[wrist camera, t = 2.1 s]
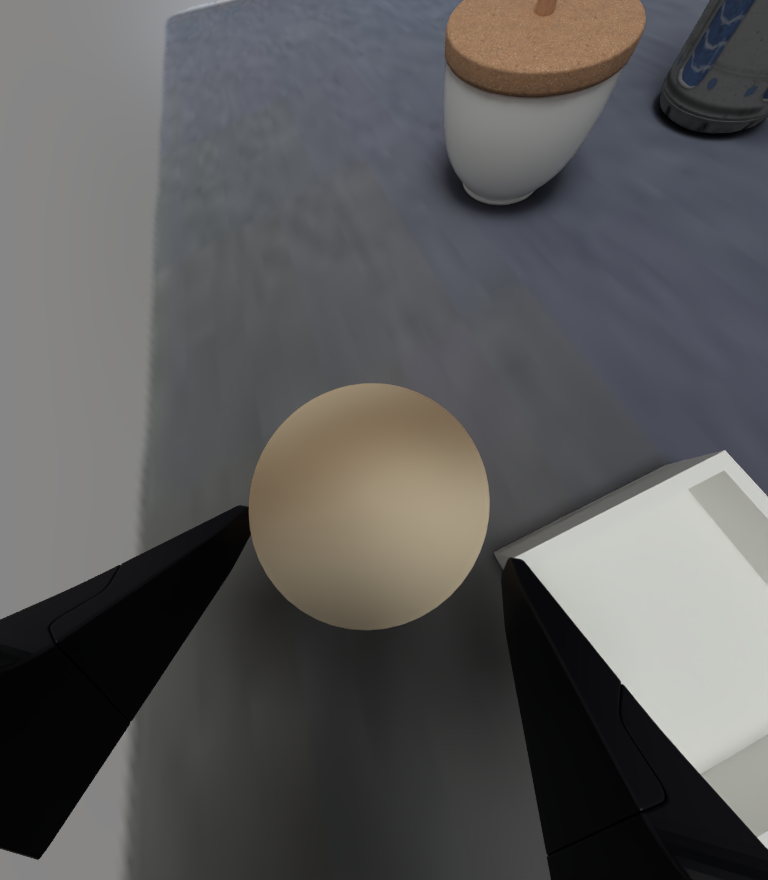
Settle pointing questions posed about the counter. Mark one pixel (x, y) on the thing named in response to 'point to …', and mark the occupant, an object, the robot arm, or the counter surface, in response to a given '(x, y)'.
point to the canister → (369, 506)
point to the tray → (677, 610)
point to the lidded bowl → (529, 86)
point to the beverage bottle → (721, 70)
